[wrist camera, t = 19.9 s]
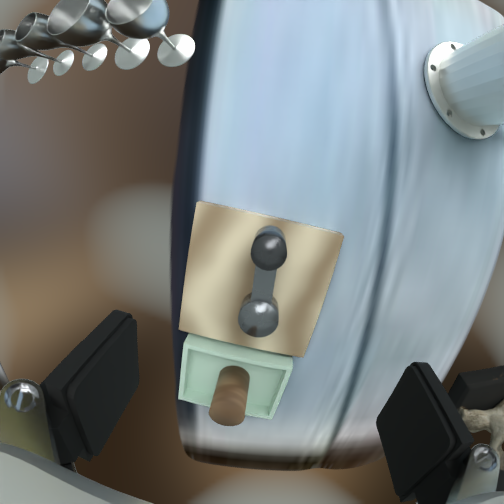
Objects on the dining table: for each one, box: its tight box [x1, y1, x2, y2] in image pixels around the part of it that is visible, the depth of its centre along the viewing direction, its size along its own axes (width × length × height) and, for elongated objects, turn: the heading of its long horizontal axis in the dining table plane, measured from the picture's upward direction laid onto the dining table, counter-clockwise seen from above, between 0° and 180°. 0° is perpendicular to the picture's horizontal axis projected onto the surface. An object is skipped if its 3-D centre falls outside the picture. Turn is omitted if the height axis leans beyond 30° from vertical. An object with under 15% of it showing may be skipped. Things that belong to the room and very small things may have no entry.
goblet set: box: [0, 0, 195, 84], centre depth 19 cm, size 28×6×13 cm, turn 80°
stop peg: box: [209, 365, 250, 426], centre depth 32 cm, size 4×4×7 cm
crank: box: [238, 225, 287, 337], centre depth 27 cm, size 11×4×6 cm, turn 173°
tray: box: [178, 333, 293, 420], centre depth 35 cm, size 13×10×2 cm
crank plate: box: [179, 201, 344, 357], centre depth 31 cm, size 15×15×2 cm
